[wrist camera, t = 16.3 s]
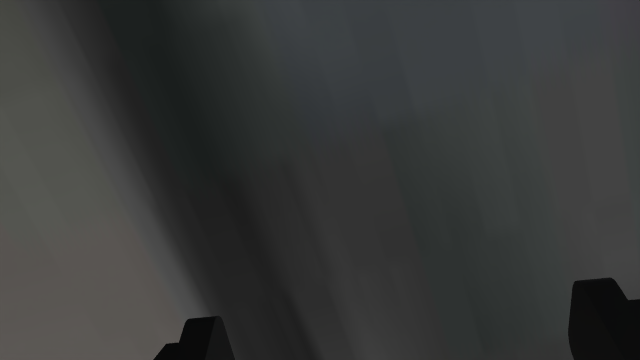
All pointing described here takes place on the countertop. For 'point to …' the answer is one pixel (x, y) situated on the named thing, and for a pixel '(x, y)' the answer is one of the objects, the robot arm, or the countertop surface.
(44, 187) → the countertop surface
